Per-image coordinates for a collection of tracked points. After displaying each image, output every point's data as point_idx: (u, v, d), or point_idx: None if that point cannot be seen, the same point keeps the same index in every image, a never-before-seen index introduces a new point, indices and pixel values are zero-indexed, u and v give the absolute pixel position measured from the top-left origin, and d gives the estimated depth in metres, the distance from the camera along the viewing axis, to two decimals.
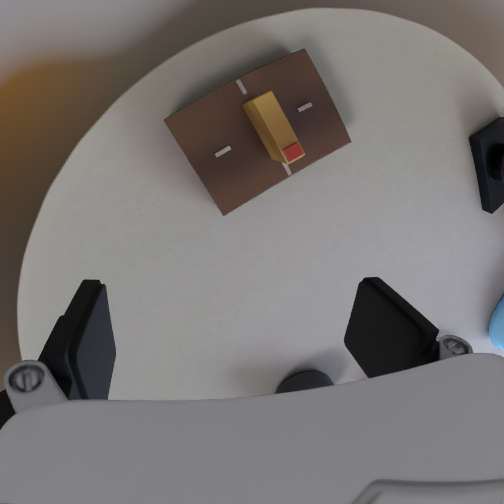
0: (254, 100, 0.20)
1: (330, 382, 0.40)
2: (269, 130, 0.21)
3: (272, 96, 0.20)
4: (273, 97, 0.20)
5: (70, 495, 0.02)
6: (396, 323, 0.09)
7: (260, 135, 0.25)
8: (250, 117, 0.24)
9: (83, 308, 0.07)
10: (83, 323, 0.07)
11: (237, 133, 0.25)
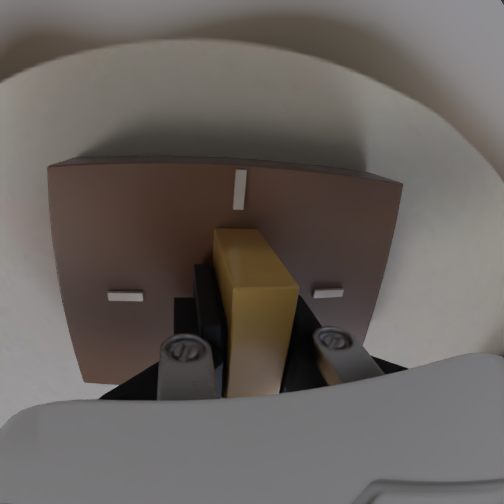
0: (238, 291, 0.07)
1: None
2: (228, 370, 0.08)
3: (291, 302, 0.07)
4: (291, 306, 0.08)
5: (70, 495, 0.02)
6: None
7: None
8: (214, 269, 0.11)
9: (212, 286, 0.09)
10: (218, 299, 0.09)
11: (171, 278, 0.12)
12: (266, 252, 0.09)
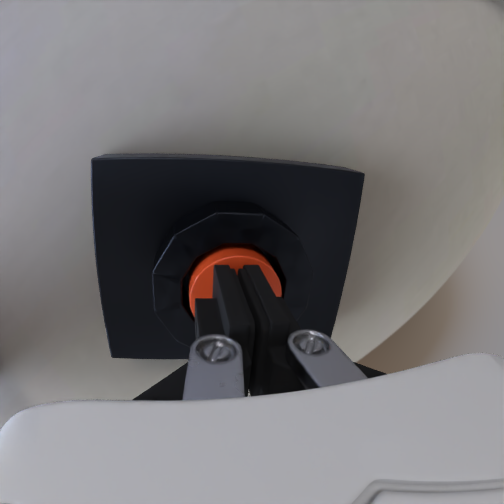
0: None
1: None
2: None
3: None
4: None
5: (70, 495, 0.02)
6: (252, 312, 0.09)
7: None
8: None
9: (236, 287, 0.09)
10: (242, 299, 0.09)
11: None
12: None
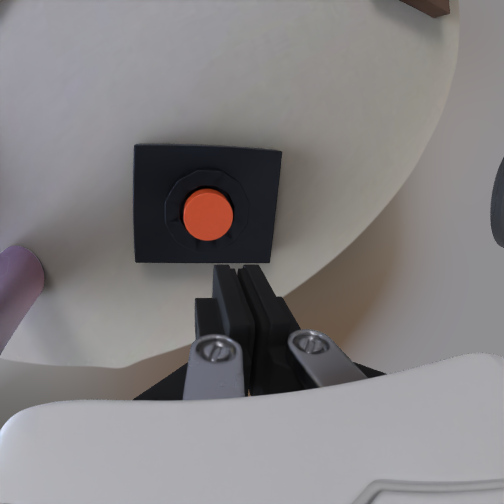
0: None
1: None
2: None
3: None
4: None
5: (70, 495, 0.02)
6: (252, 312, 0.09)
7: None
8: None
9: (236, 287, 0.09)
10: (243, 299, 0.09)
11: None
12: None
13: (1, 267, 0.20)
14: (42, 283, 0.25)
